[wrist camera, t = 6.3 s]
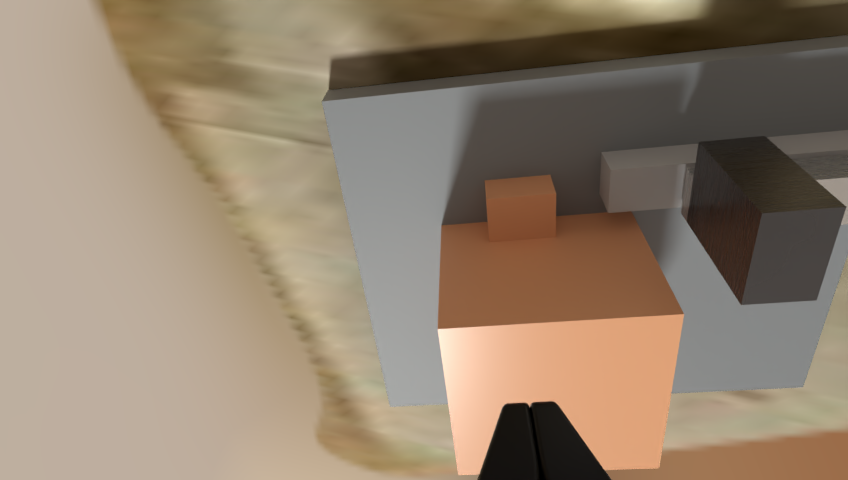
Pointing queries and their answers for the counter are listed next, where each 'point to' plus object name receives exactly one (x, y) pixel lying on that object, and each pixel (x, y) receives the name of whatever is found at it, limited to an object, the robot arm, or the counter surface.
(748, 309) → the latch plate
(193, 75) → the counter surface
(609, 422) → the cover
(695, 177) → the latch bolt
